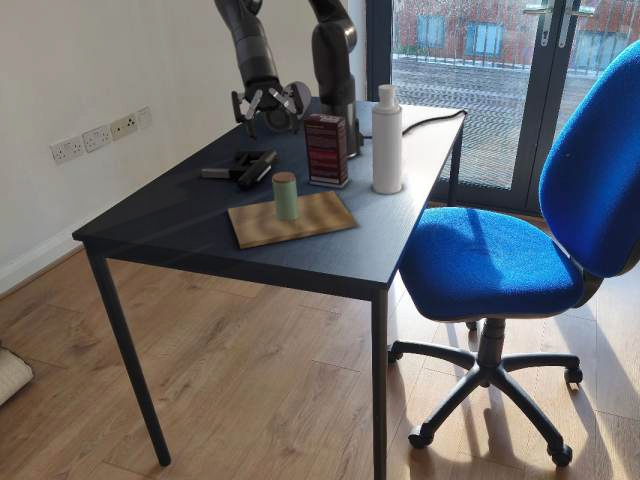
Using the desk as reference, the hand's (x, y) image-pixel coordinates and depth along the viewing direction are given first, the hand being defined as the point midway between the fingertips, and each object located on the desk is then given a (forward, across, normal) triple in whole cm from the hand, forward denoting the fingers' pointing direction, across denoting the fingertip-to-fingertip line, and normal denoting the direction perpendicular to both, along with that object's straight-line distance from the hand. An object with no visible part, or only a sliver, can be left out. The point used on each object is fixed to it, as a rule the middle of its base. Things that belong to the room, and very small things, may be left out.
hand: (276, 135), depth 115 cm
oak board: (+16, 0, +7) cm, 18 cm away
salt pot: (+15, -1, +6) cm, 17 cm away
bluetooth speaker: (-26, +14, +48) cm, 57 cm away
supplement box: (+6, +13, +17) cm, 22 cm away
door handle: (-4, -7, +27) cm, 28 cm away
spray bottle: (+12, +24, +12) cm, 30 cm away
